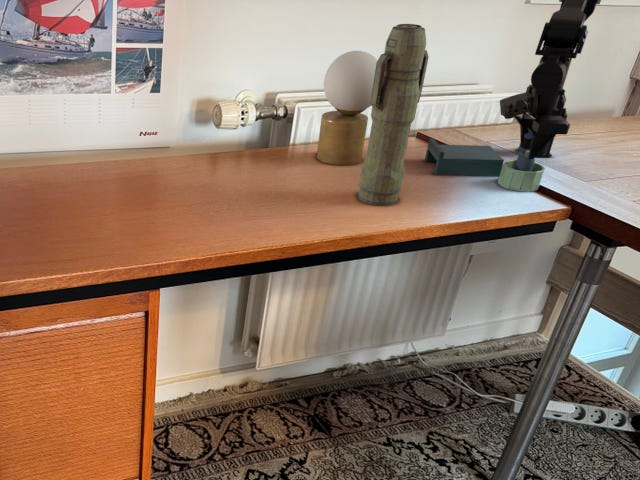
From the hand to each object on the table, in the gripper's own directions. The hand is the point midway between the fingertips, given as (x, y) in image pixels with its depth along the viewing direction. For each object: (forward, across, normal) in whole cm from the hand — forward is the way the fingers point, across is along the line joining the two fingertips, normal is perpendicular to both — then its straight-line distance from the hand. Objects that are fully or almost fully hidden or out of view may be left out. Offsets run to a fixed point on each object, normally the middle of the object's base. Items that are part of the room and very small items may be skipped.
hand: (527, 154), depth 157 cm
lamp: (+7, -18, -38) cm, 43 cm away
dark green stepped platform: (+7, -11, -10) cm, 16 cm away
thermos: (+7, +11, -34) cm, 36 cm away
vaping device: (+7, 0, 0) cm, 7 cm away
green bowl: (+7, 0, 0) cm, 7 cm away
